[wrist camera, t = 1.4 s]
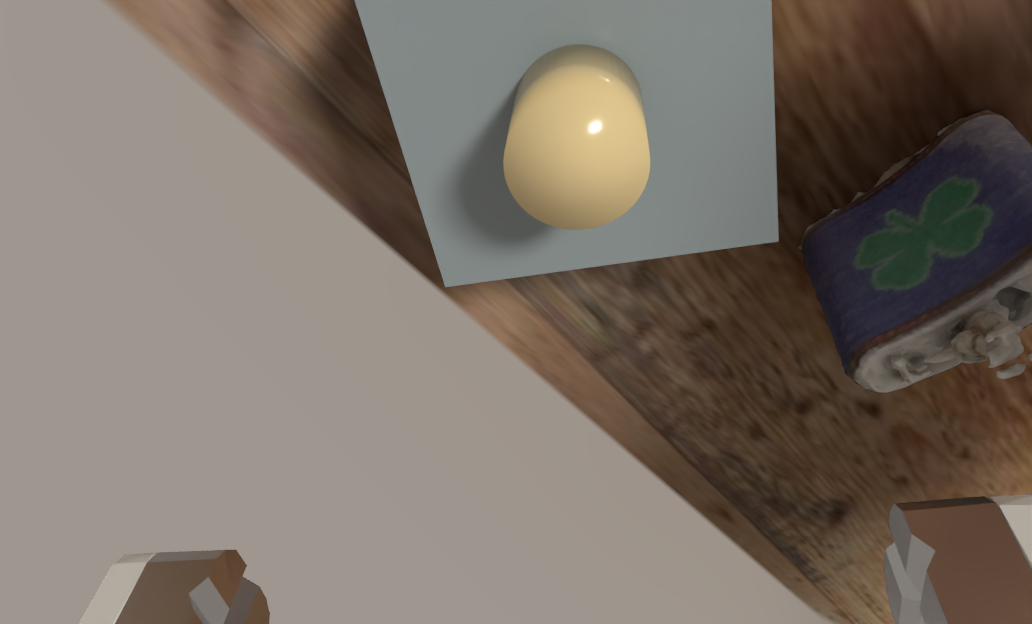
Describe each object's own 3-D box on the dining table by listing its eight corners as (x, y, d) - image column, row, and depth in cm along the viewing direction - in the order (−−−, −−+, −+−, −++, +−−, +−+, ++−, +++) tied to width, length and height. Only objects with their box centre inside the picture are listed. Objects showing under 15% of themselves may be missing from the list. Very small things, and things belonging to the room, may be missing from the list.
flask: (987, 94, 31) (1137, 241, 23) (1025, 144, 32) (1183, 303, 24) (785, 239, 35) (847, 408, 27) (824, 278, 37) (896, 453, 28)
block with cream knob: (752, -159, 20) (799, -122, 15) (767, 208, 26) (804, 312, 21) (356, -69, 22) (295, -14, 17) (453, 254, 28) (427, 358, 23)
